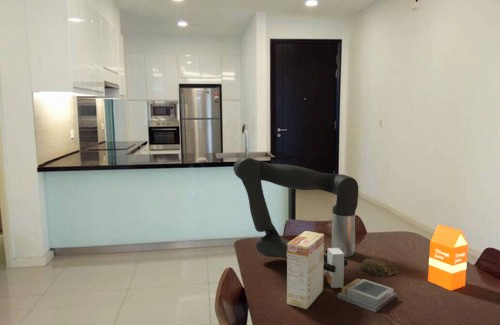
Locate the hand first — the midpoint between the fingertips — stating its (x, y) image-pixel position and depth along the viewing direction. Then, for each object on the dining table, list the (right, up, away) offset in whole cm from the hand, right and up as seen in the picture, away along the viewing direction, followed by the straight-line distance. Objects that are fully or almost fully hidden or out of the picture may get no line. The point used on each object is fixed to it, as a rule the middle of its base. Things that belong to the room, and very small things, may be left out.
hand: (341, 266), depth 129 cm
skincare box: (-2, -7, +2) cm, 8 cm away
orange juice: (+37, -7, +3) cm, 38 cm away
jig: (+7, -8, -7) cm, 13 cm away
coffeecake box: (-13, -8, -7) cm, 17 cm away
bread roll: (+18, -6, +15) cm, 24 cm away
